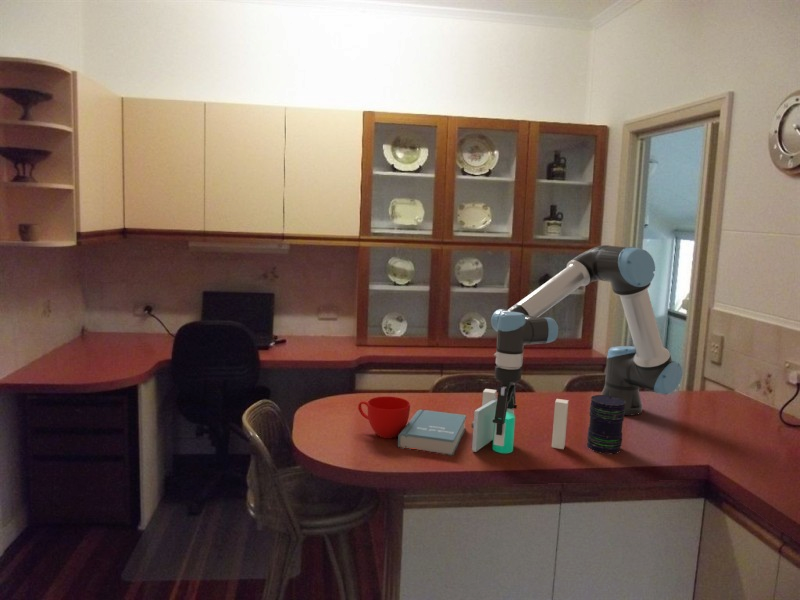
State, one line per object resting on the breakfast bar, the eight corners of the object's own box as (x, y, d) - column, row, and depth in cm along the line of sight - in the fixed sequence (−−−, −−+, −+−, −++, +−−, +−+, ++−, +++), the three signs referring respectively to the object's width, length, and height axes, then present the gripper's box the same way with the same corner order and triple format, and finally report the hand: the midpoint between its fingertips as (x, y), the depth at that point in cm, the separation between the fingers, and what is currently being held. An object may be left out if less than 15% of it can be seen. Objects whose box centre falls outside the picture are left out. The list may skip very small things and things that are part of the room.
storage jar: (616, 457, 173) (621, 407, 171) (582, 449, 178) (586, 400, 176) (624, 446, 181) (629, 399, 179) (591, 439, 187) (595, 392, 184)
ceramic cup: (368, 421, 194) (369, 391, 192) (415, 432, 186) (417, 401, 185) (347, 434, 182) (348, 402, 181) (397, 445, 175) (398, 412, 173)
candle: (490, 450, 174) (492, 411, 172) (494, 444, 179) (497, 405, 178) (510, 454, 172) (513, 414, 170) (514, 447, 177) (517, 408, 175)
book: (452, 457, 169) (453, 440, 169) (397, 449, 173) (398, 432, 173) (465, 430, 191) (466, 415, 190) (416, 423, 195) (417, 409, 194)
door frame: (564, 445, 181) (568, 400, 179) (563, 449, 177) (567, 403, 175) (482, 431, 189) (485, 388, 187) (480, 435, 186) (483, 391, 184)
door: (475, 451, 172) (478, 411, 170) (467, 449, 173) (469, 409, 172) (498, 435, 185) (500, 398, 184) (489, 433, 187) (492, 396, 185)
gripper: (503, 355, 185) (499, 421, 188) (486, 374, 162) (481, 449, 165) (528, 358, 182) (523, 425, 185) (513, 378, 159) (508, 454, 162)
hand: (503, 437), depth 175 cm, fingers open, 13 cm apart
